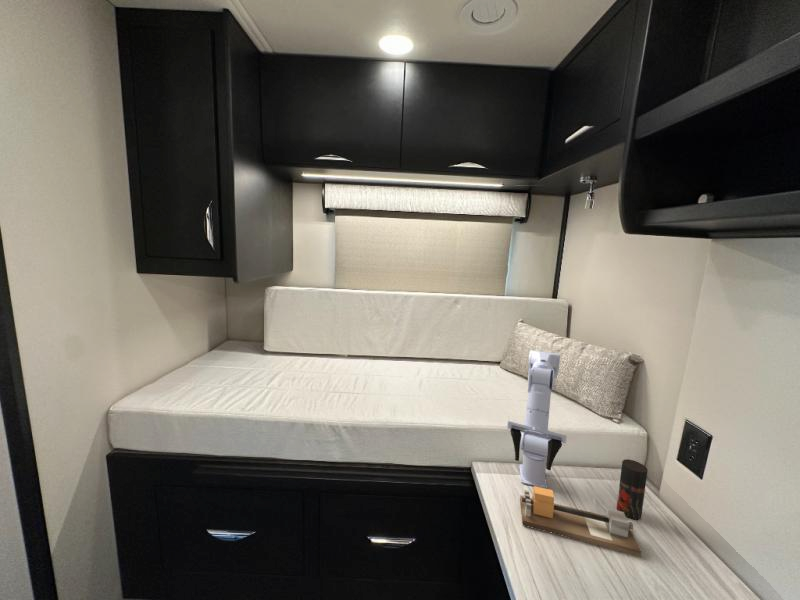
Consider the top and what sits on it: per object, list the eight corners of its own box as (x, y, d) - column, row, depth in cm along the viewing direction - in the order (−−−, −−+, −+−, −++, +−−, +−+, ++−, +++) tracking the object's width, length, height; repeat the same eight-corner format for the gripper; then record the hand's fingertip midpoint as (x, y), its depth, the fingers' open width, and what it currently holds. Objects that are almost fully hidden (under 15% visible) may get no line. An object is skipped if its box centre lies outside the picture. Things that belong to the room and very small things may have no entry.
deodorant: (645, 522, 88) (652, 474, 87) (622, 518, 90) (628, 470, 88) (634, 506, 94) (640, 461, 92) (612, 503, 95) (618, 458, 94)
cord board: (519, 499, 95) (521, 481, 95) (624, 525, 87) (627, 505, 86) (522, 525, 86) (524, 505, 85) (640, 556, 78) (643, 535, 77)
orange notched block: (531, 503, 91) (533, 484, 91) (550, 507, 90) (552, 489, 89) (533, 513, 87) (535, 494, 87) (552, 518, 86) (554, 498, 85)
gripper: (511, 404, 83) (504, 458, 79) (570, 418, 78) (567, 476, 74) (508, 405, 89) (502, 455, 85) (563, 418, 85) (559, 471, 81)
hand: (532, 464), depth 80 cm, fingers open, 7 cm apart
